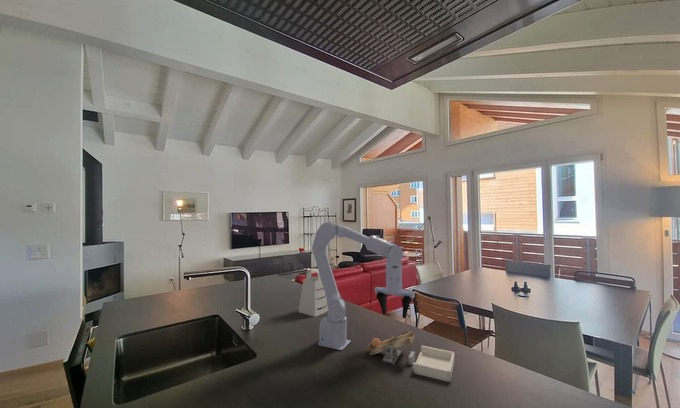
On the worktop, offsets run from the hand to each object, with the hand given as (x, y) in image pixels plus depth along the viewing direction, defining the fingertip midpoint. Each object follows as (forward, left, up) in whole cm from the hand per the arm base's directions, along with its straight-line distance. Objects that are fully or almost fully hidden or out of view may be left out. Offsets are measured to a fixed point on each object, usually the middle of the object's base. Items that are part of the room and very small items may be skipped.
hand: (394, 315), depth 104 cm
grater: (-45, +18, -11) cm, 49 cm away
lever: (+2, -6, -7) cm, 9 cm away
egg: (-4, -9, -7) cm, 12 cm away
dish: (+15, -9, -10) cm, 21 cm away
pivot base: (+4, -9, -10) cm, 14 cm away
